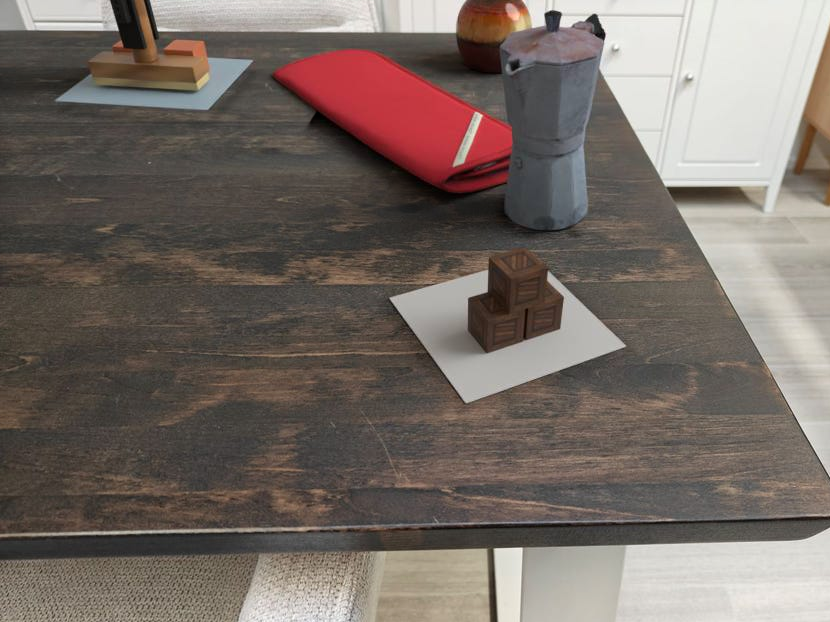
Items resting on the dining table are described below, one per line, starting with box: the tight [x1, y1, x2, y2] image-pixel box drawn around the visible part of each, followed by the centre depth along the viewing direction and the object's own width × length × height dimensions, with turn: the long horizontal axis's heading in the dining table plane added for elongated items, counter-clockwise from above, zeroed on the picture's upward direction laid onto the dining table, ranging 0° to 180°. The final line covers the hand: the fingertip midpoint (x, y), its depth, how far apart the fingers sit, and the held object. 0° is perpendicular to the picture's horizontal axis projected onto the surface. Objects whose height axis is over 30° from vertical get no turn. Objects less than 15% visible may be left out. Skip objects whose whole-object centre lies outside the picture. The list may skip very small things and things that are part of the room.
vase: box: [455, 0, 533, 74], centre depth 106 cm, size 11×11×15 cm
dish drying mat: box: [271, 48, 513, 194], centre depth 93 cm, size 16×41×4 cm, turn 36°
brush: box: [87, 0, 209, 91], centre depth 94 cm, size 14×4×14 cm, turn 84°
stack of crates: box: [388, 246, 627, 404], centre depth 62 cm, size 15×15×7 cm
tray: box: [54, 57, 254, 111], centre depth 101 cm, size 20×18×1 cm
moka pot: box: [500, 9, 607, 231], centre depth 72 cm, size 10×15×20 cm, turn 145°
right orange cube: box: [163, 39, 210, 72], centre depth 101 cm, size 4×4×4 cm
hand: (141, 42), depth 95 cm, fingers closed on brush, 3 cm apart
